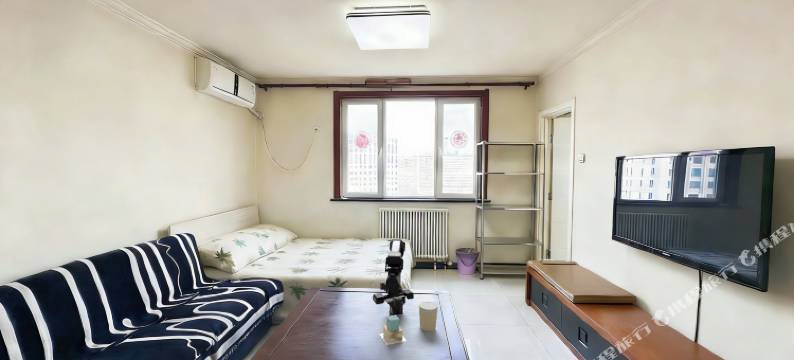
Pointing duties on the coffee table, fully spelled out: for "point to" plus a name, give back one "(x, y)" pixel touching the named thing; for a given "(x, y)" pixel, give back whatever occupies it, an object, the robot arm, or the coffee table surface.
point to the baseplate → (391, 342)
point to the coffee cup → (428, 316)
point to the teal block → (392, 323)
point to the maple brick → (392, 334)
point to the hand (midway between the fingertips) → (393, 314)
